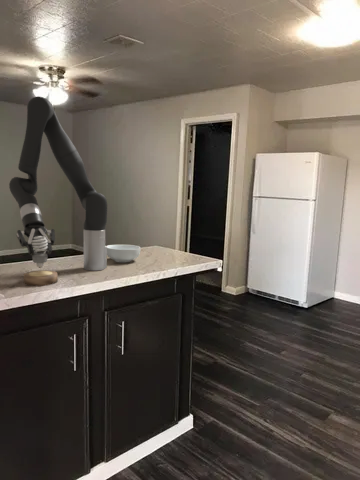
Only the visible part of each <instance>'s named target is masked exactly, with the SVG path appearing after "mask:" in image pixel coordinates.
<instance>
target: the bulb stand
mask: <svg viewBox="0 0 360 480" xmlns="http://www.w3.org/2000/svg"><path fill="white" fill-rule="evenodd" d="M22 277H23V284H24V285H25V286H30V287H31V286H33V287H42V286H43V287H44V286H51V285H54V284H57V283H58V272H57V271H54V270H44V269H43V270H42V269H41V270H32V271H28V272H27V271H26V272H25V273H24V274H23V276H22Z"/></svg>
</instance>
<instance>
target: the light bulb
mask: <svg viewBox="0 0 360 480" xmlns="http://www.w3.org/2000/svg"><path fill="white" fill-rule="evenodd" d="M33 239H39V240H32V242H31V244H32V246H33V250H34V254H33V255H32V256H31V258H32V262H33V263H35V264H36V267H38V269H39V268H40V269H41V268H43V267H44V264H45V263H47V262H48V252H47V248H48V246H47V245H48V243H47V242H48V241H47V239H46V238H45V237H43V236H37V237H34V238H33ZM41 251H43V252H41Z"/></svg>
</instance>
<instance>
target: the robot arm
mask: <svg viewBox="0 0 360 480" xmlns="http://www.w3.org/2000/svg"><path fill="white" fill-rule="evenodd" d="M26 110H27V115H26V127H25V128H26V129H25V135H24V139H23V144H22V148H21V153H20V157H19V161H18V166H17V168H18V171H20V172H22V173H24V174H26V175H27V176H28V177H27V178H25V177H19V176H14V177H13V178H11V179H10V181H9V184H8V185H9V186H8V187H9V191H10V193H11V194H12V196H13V198H14V199H15V201H16V202H17V204H18V208H19V212H20V219H21V222H22V226H23V227H22V228H23V230H19V229H18V230H17V231H16V234H15V235H16V237H17V240H18V242H19V244H20V246H21V248H22V247H23V248H24V247H26V248H27V251H28V254H29V255H30V256H31V257H32V255H33V254H34V250H33V249H34V248H33V246H34V245H32V243H33V242H32V240H39V239H33V238H34V237H37V236H43V237H45V238H46V239H47V241H48V242H47V243H48V245H47V246H48V248H47V251H46V253H47V255H51V254H52V252H53V247H52V246H54V244H55V242H56V234H55V229H53V228H51V229H47V228H46V227H45V226H46V225H45V222H44V218H43V215H42V212H41V209H40V207H39V203H38V200H37V198H36V196H35V195H36V194H37V193H38V177H37V176H38V166H39V162H40V157H41V151H42V141H43V140H42V139H43V136H44V135H45V136H46V139H47V142H48V144H49V147H50V149H51V152H52V154H53V157H54V158H55V160H56V162H57V163H58V165H59V167H60V169H61V171H62V172H63V173H64V175H65V176H66V178H67V179H68V181H69V182H70V184H71V185H72V187H73V188H74V191H75V193H76V195H77V197H78V199H79V201H80V204H81V206H82V208H83V209H84V211H85V219H84V222H83V270H87V271H102V270H105V269H106V268H107V267H108V266H107V265H108V262H107V261H108V260H107V259H108V256H107V247H106V246H107V245H106V225H107V221H108V201H107V200H108V199H107V197H106V196H105V195H104V194H102V193H101V192H97V190H96V189H95V187H94V186H93V184H92V183H91V181H90V179H89V177H88V174H87V170H86V167H85V163H84V161H83V158H82V156H80V153H79V151H78V149H77V147H76V146H75V145H74V143H73V142H72V140H71V138H70V137H69V135H68V133H66V131H65V130H64V128H63V126H62V125H61V122H60V121H59V118H58V116H57V113H56V111H55V109H54V106H53V105H52V102H51V101H50V100H49V99H47V98H45V97H42V96H34V97H32V98H30V99H29V101H28V102H27V107H26ZM24 235H25V237H27V238H28V240H27V241H26V239H25V237H24ZM48 236H49V238H48Z"/></svg>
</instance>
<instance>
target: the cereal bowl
mask: <svg viewBox="0 0 360 480" xmlns="http://www.w3.org/2000/svg"><path fill="white" fill-rule="evenodd" d="M105 246H106V247H107V258H109V259H110V260H113V261H114V262H116V263H131V262H132V261H134V260H135V259H137V258H139V256H140V254H141V246H139V245H134V244H108V245H105Z"/></svg>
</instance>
